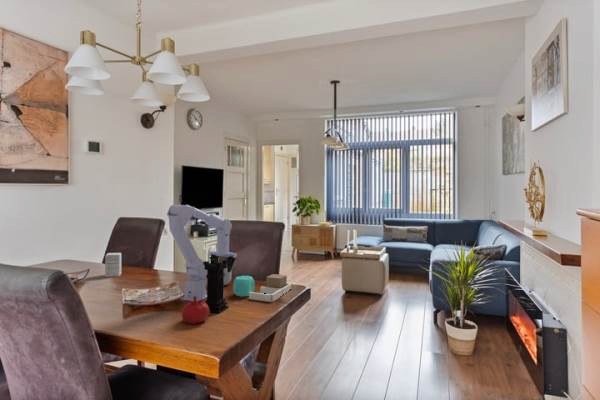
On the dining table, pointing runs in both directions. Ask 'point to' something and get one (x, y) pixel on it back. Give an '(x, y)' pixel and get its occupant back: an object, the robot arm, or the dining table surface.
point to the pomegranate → (195, 311)
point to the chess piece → (215, 285)
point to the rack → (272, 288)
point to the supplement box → (113, 264)
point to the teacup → (227, 276)
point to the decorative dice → (243, 285)
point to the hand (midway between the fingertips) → (222, 271)
